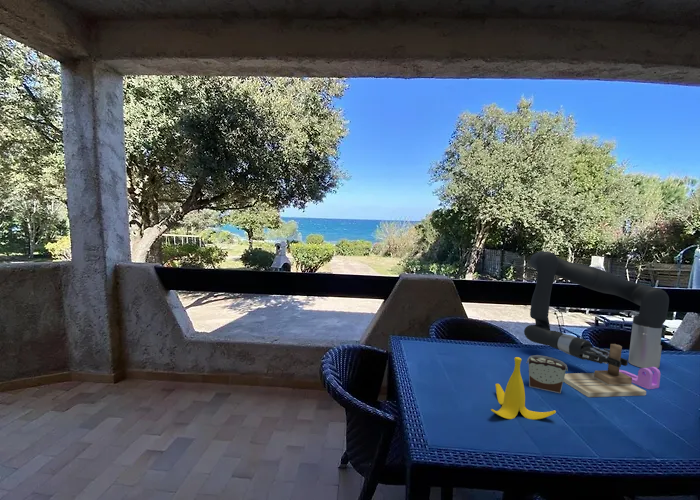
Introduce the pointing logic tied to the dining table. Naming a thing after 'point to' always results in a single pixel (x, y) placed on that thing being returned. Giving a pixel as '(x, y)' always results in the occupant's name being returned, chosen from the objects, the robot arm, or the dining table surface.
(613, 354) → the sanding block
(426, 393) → the dining table surface
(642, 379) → the bracket
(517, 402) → the banana peel
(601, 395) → the pine board
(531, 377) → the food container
